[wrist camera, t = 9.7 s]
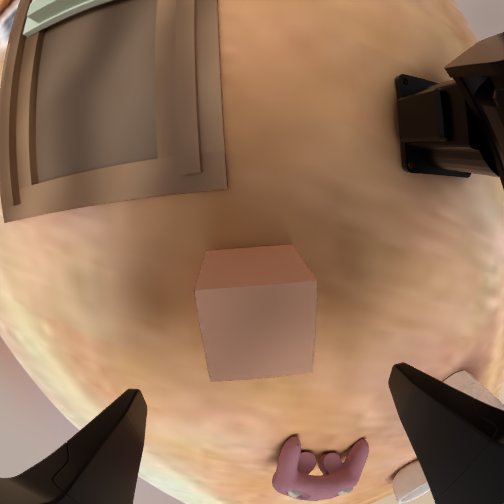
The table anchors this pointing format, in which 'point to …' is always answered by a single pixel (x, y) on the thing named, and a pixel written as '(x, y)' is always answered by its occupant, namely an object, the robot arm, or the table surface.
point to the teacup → (410, 483)
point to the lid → (53, 12)
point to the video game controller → (334, 471)
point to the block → (256, 312)
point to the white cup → (473, 388)
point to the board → (111, 107)
